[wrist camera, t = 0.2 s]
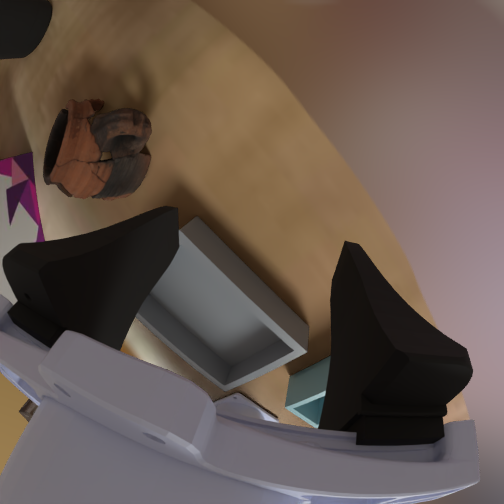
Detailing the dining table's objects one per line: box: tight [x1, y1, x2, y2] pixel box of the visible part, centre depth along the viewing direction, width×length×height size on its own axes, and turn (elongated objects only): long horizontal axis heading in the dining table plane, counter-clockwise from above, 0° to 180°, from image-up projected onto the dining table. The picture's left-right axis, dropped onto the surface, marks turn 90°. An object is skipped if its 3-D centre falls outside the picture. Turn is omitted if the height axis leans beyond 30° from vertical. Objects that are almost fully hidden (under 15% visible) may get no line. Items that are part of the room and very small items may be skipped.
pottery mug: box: [43, 99, 152, 200], centre depth 20 cm, size 12×10×8 cm
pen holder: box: [0, 0, 52, 59], centre depth 13 cm, size 9×9×10 cm
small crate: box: [285, 356, 331, 428], centre depth 26 cm, size 8×6×4 cm
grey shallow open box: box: [135, 216, 309, 392], centre depth 25 cm, size 11×14×4 cm
